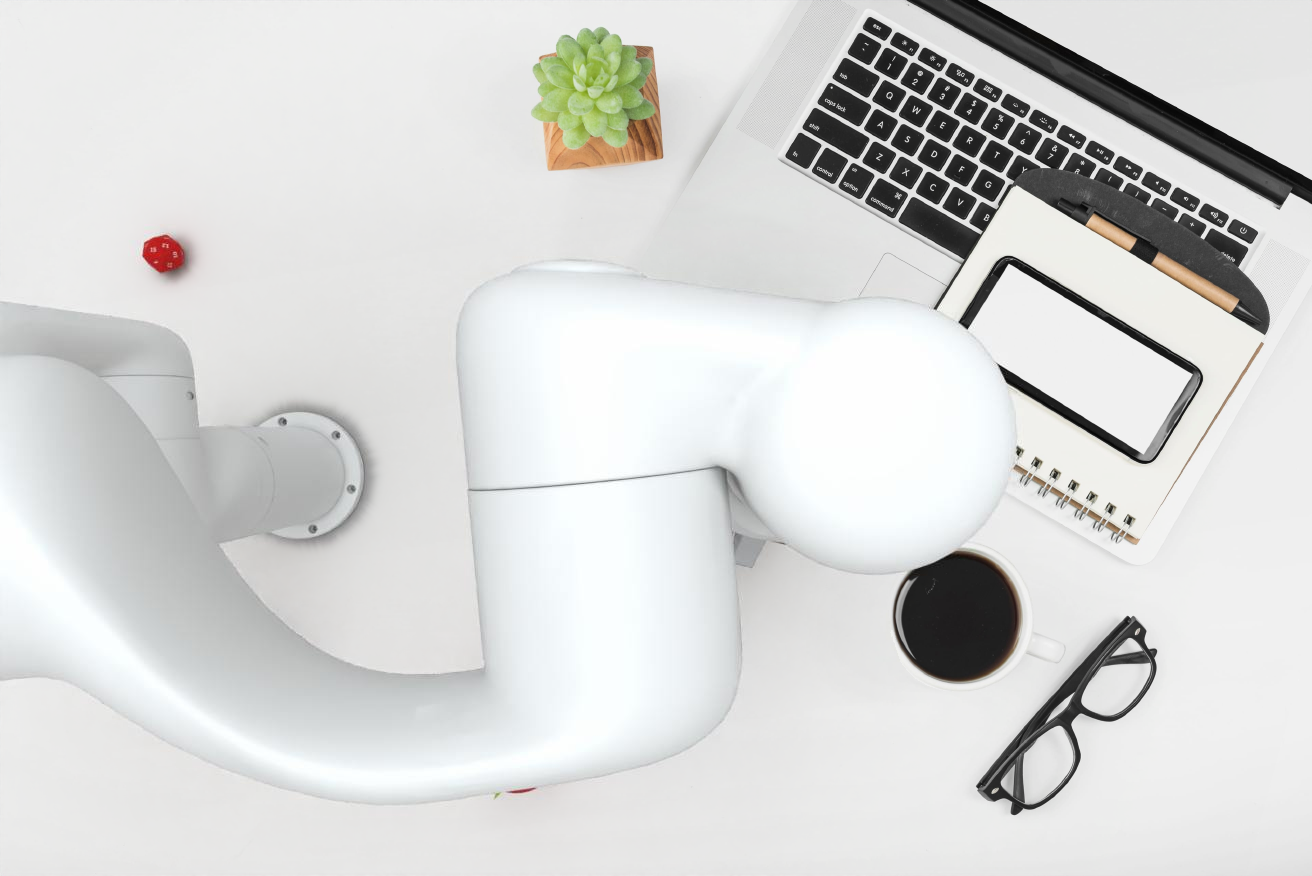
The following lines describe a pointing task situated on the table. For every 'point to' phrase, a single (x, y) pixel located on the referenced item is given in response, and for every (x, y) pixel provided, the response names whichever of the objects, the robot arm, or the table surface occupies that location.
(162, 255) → the die
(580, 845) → the table surface
